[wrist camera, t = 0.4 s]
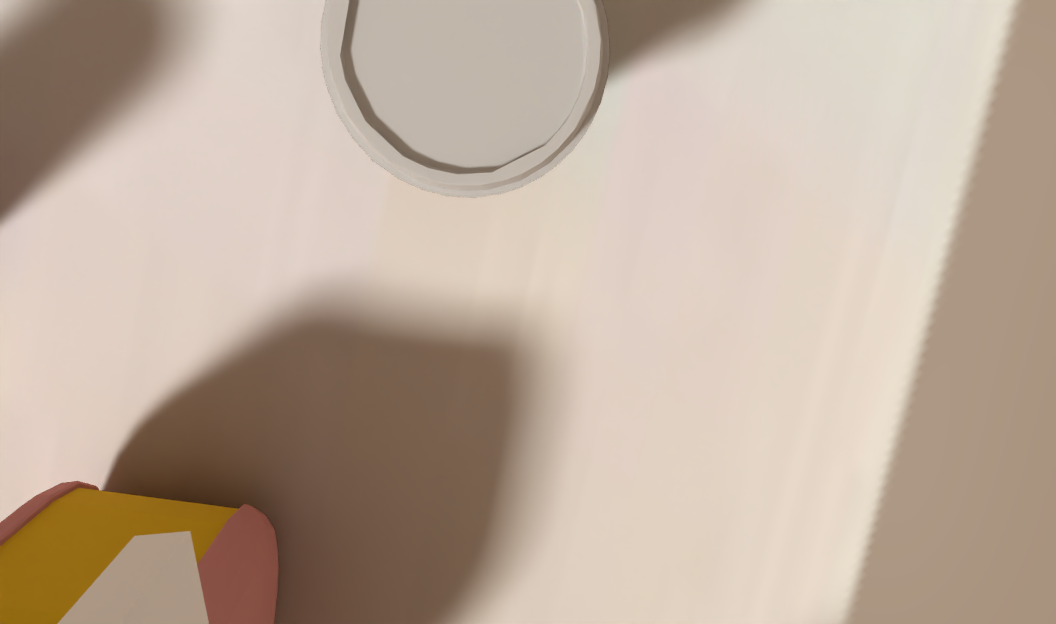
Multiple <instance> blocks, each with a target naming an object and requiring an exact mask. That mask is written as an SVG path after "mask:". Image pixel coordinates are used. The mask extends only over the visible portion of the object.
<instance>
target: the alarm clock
mask: <svg viewBox="0 0 1056 624" xmlns="http://www.w3.org/2000/svg"><path fill="white" fill-rule="evenodd" d="M185 531H190V533H191V538H192V543H193V547H194V552H195V557H196V562H197V567H198V572H199V577H200V582H201V587H202V592H203V597H204V602H205V606H206V611H207V616H208V621H209V624H274V619H275V610H276V601H277V591H278V571H279V565H278V546H277V541H276V536H275V530H274V528H273V526H272V525H271V523H270V521H269V520H268V518H267V516H266V515H265V514H263V513H262V512H260V511H259V510H258V509H256V508H255V507H252V506H250V505H247V504H243V505H242V506H241V507H240V508H239V509H237V508H230V507H222V506H214V505H207V504H199V503H191V502H184V501H176V500H169V499H161V498H153V497H146V496H138V495H130V494H123V493H115V492H107V491H100V490H99V489H98V487H97V486H94V485H90V484H87V483H83V482H79V481H74V482H66V483H60V484H58V485H56V486H54V487H52V488H50V489H48V490H46V491H44V492H42V493H41V494H39V495H37V496H35V497H33V498H32V499H31V500H29V501H28V502H26V503H25V504H24V505H22V506H21V507H20V508H18V509H17V510H16V511H15V512H13V513H12V514H11V515H9V516H8V517H7V518H6V519H4V520H3V521H2V522H1V523H0V624H58V622H59V621H60V620H61V619H62V618H63V617H64V616H65V614H66V613H67V612H68V611H69V610H70V609H71V608H72V607H73V605H74V604H75V603H76V602H77V601H78V600H79V599H80V597H81V596H82V595H83V594H84V593H85V592H86V591H87V589H88V588H89V587H90V586H91V585H92V584H93V583H94V581H95V580H96V579H97V578H98V577H99V576H100V575H101V573H102V572H103V571H104V570H105V569H106V568H107V567H108V565H109V564H110V563H111V562H112V561H113V560H114V559H115V558H116V556H117V555H118V554H119V553H120V552H121V551H122V550H123V548H124V547H125V546H126V545H127V544H128V543H129V542H130V540H131V539H132V538H133V537H134V536H139V535H151V534H162V533H174V532H185Z"/></svg>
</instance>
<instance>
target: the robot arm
mask: <svg viewBox="0 0 1056 624" xmlns="http://www.w3.org/2000/svg"><path fill="white" fill-rule="evenodd" d="M58 624H209V621H208V616H207V611H206V606H205V602H204V597H203V592H202V587H201V582H200V577H199V572H198V567H197V562H196V557H195V552H194V547H193V543H192V538H191V533H190V531H185V532H174V533H162V534H151V535H139V536H134V537H133V538H132V539H131V540H130V542H129V543H128V544H127V545H126V546H125V547H124V548H123V550H122V551H121V552H120V553H119V554H118V555H117V556H116V558H115V559H114V560H113V561H112V562H111V563H110V564H109V565H108V567H107V568H106V569H105V570H104V571H103V572H102V573H101V575H100V576H99V577H98V578H97V579H96V580H95V581H94V583H93V584H92V585H91V586H90V587H89V588H88V589H87V591H86V592H85V593H84V594H83V595H82V596H81V597H80V599H79V600H78V601H77V602H76V603H75V604H74V605H73V607H72V608H71V609H70V610H69V611H68V612H67V613H66V614H65V616H64V617H63V618H62V619H61V620H60V621H59V622H58Z"/></svg>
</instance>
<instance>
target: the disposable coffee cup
mask: <svg viewBox="0 0 1056 624" xmlns="http://www.w3.org/2000/svg"><path fill="white" fill-rule="evenodd" d="M320 49H321V59H322V68H323V72H324V77H325V81H326V85H327V89H328V91H329V94H330V97H331V99H332V102H333V104H334V107H335V109H336V112H337V114H338V116H339V117H340V119H341V121H342V122H343V124H344V125H345V127H346V129H347V130H348V132H349V133H350V135H351V136H352V138H353V139H354V140H355V141H356V143H357V144H358V145H359V146H360V147H361V148H362V149H363V150H364V151H365V153H366V154H367V155H368V156H369V157H370V158H371V159H372V160H373V161H374V162H376V163H377V164H378V165H380V166H381V167H383V168H384V169H385V170H387V171H388V172H390V173H391V174H392V175H394V176H395V177H396V178H398V179H400V180H402V181H404V182H406V183H409V184H411V185H413V186H415V187H417V188H420V189H422V190H425V191H429V192H433V193H437V194H441V195H445V196H454V197H469V198H476V197H483V196H490V195H497V194H502V193H505V192H508V191H511V190H515V189H518V188H520V187H522V186H524V185H526V184H528V183H530V182H532V181H534V180H536V179H538V178H540V177H542V176H543V175H545V174H546V173H547V172H549V171H550V170H551V169H553V168H554V167H555V166H557V165H558V164H559V163H560V162H561V161H562V160H563V159H564V158H565V157H566V156H567V155H568V154H569V153H570V152H571V151H572V150H573V149H574V148H575V146H576V145H577V144H578V142H579V141H580V140H581V138H582V137H583V136H584V134H585V133H586V131H587V130H588V128H589V126H590V124H591V123H592V121H593V119H594V116H595V114H596V112H597V110H598V107H599V105H600V103H601V100H602V96H603V92H604V88H605V84H606V81H607V77H608V67H609V57H610V45H609V33H608V21H607V17H606V13H605V9H604V5H603V1H602V0H326V2H325V7H324V12H323V16H322V22H321V48H320Z"/></svg>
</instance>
